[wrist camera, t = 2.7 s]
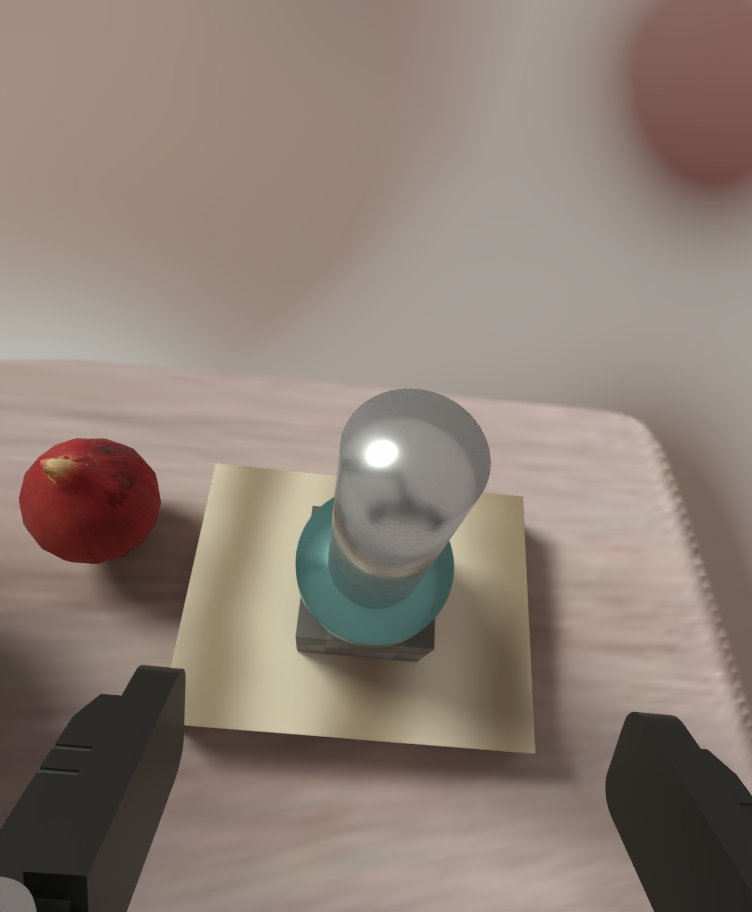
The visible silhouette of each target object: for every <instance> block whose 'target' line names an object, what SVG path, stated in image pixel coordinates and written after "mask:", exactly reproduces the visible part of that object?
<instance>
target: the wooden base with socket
mask: <svg viewBox="0 0 752 912" xmlns="http://www.w3.org/2000/svg"><path fill="white" fill-rule="evenodd" d="M336 478H337V476H328V475H319V474H310V473H300V472H291V471H282V470H273V469H264V468H255V467H246V466H237V465H227V464H218V463H216V464H215V469H214V473H213V478H212V482H211V487H210V492H209V496H208V501H207V505H206V510H205V514H204V519H203V523H202V528H201V532H200V537H199V541H198V546H197V550H196V555H195V559H194V564H193V568H192V573H191V577H190V582H189V586H188V591H187V595H186V600H185V604H184V609H183V613H182V618H181V622H180V627H179V631H178V636H177V640H176V645H175V649H174V654H173V659H172V663H171V668H180V669H184V670H185V673H186V688H185V720H184V726H193V727H206V728H218V729H230V730H243V731H255V732H268V733H280V734H292V735H305V736H317V737H329V738H342V739H354V740H366V741H379V742H391V743H403V744H416V745H428V746H440V747H453V748H465V749H477V750H490V751H502V752H515V753H534V754H535V733H534V713H533V692H532V672H531V651H530V630H529V610H528V589H527V569H526V548H525V528H524V507H523V497H520V496H510V495H501V494H492V493H482V494H481V496H480V497H479V499H478V500H477V502H476V503H475V505H474V506H473V507H472V509H471V510H470V512H469V513H468V514H467V516H466V517H465V519H464V520H463V522H462V523H461V524H460V526H459V527H458V529H457V530H456V532H455V533H454V534H453V536H452V537H451V539H450V540H449V541H450V544H451V547H452V552H453V557H454V579H453V583H452V588H451V591H450V594H449V596H448V599H447V601H446V603H445V605H444V606H443V608H442V609H441V611H440V612H439V614H438V615H437V616H436V617H435V618H434V619H433V620H432V621H431V623H430V624H429V625H428V626H426V627H425V628H424V629H423V630H422V631H421V632H419V633H418V634H417V635H415V636H413V637H412V638H410V639H408V640H406V641H404V642H401V643H399V644H395V645H391V646H386V647H363V646H357V645H353V644H350V643H347V642H344V641H342V640H340V639H338V638H336V637H334V636H333V635H331V634H330V633H328V632H327V631H326V630H324V629H323V628H322V627H321V626H320V625H319V624H318V623H317V622H316V621H315V620H314V619H313V618H312V616H311V615H310V613H309V612H308V610H307V609H306V607H305V605H304V603H303V601H302V599H301V596H300V593H299V590H298V585H297V580H296V565H295V560H296V550H297V545H298V541H299V539H300V536H301V533H302V531H303V529H304V527H305V525H306V523H307V522H308V520H309V519H310V518H311V516H312V515H313V514H314V513H315V512H316V511H317V509H318V508H320V507H321V506H322V505H323V504H324V503H326V502H327V501H329V500H330V499H332V498H333V497H335V487H336Z"/></svg>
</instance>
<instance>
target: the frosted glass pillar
mask: <svg viewBox="0 0 752 912" xmlns="http://www.w3.org/2000/svg"><path fill="white" fill-rule="evenodd" d="M490 464H491V460H490V451H489V447H488V443H487V440H486V438H485V435H484V433H483V432H482V430H481V428H480V426H479V425H478V423H477V422H476V421H475V419H474V418H473V417H472V416H471V415H470V414H469V413H468V412H467V411H466V410H465V409H464V408H462V407H461V406H460V405H458V404H457V403H455V402H454V401H452V400H450V399H449V398H447V397H445V396H442V395H440V394H437V393H434V392H430V391H426V390H421V389H397V390H391V391H388V392H384V393H381V394H379V395H377V396H374V397H373V398H371V399H369V400H368V401H366V402H365V403H364V404H362V405H361V406H360V407H359V408H358V409H357V410H356V411H355V412H354V413H353V414H352V416H351V417H350V419H349V420H348V422H347V424H346V426H345V428H344V431H343V433H342V437H341V442H340V450H339V459H338V469H337V478H336V487H335V497H333V498H332V499H330V500H329V501H327V502H326V503H324V504H323V505H322V506H321V507H320V508H318V509H317V511H316V512H315V513H314V514H313V515H312V516H311V518H310V519H309V520H308V522H307V523H306V525H305V527H304V529H303V531H302V533H301V536H300V539H299V541H298V545H297V550H296V560H295V565H296V580H297V585H298V590H299V593H300V596H301V599H302V601H303V603H304V605H305V607H306V609H307V610H308V612H309V613H310V615H311V616H312V618H313V619H314V620H315V621H316V622H317V623H318V624H319V625H320V626H321V627H322V628H323V629H324V630H326V631H327V632H328V633H330V634H331V635H333V636H334V637H336V638H338V639H340V640H342V641H344V642H347V643H350V644H353V645H357V646H363V647H386V646H391V645H395V644H399V643H401V642H404V641H406V640H408V639H410V638H412V637H413V636H415V635H417V634H418V633H419V632H421V631H422V630H423V629H424V628H425V627H426V626H428V625H429V624H430V623H431V621H432V620H433V619H434V618H435V617H436V616H437V615H438V614H439V612H440V611H441V609H442V608H443V606H444V605H445V603H446V601H447V599H448V596H449V594H450V591H451V588H452V583H453V579H454V557H453V552H452V547H451V544H450V541H449V540H450V539H451V537H452V536H453V534H454V533H455V532H456V530H457V529H458V527H459V526H460V524H461V523H462V522H463V520H464V519H465V517H466V516H467V514H468V513H469V512H470V510H471V509H472V507H473V506H474V505H475V503H476V502H477V500H478V499H479V497H480V496H481V494H482V493H483V491H484V489H485V487H486V484H487V481H488V479H489V474H490Z"/></svg>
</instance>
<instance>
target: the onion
mask: <svg viewBox="0 0 752 912" xmlns="http://www.w3.org/2000/svg"><path fill="white" fill-rule="evenodd" d="M19 504H20V509H21V513H22V518H23V523H24V525H25V527H26V528H27V530H28V531H29V533H30V534H31V535H32V536H33V538H34V539H35V540H36V542H37V543H38V544H39V545H40V547H41V548H42V549H44V550H46V551H48V552H50V553H52V554H54V555H55V556H57V557H59V558H61V559H63V560H66V561H70V562H77V563H91V564H100V563H103V562H106V561H109V560H112V559H116V558H119V557H122V556H124V555H125V554H126V553H128V552H129V551H131V550H132V549H133V548H135V547H136V546H138V545H139V544H140V543H142V541H143V540H144V539H145V537H146V536H147V535H148V533H149V532H150V530H151V529H152V528H153V526H154V525H155V523H156V519H157V515H158V512H159V508H160V504H161V500H160V494H159V488H158V482H157V478H156V474H155V472H154V471H153V470H152V469H151V468H150V466H149V465H148V464H147V463H146V462H145V461H144V459H143V458H142V457H141V456H140V455H139V454H138V453H137V452H136V451H135V450H134V449H132V448H130V447H128V446H125V445H122V444H120V443H117V442H114V441H111V440H108V439H81V438H76V439H72V440H69V441H66V442H63V443H60V444H57V445H55V446H53V447H52V448H51V449H49V450H48V451H46V452H45V453H44V454H42V455H41V456H40V457H38V459H37V460H36V461H35V462H34V463H33V465H32V466H31V467H30V468H29V470H28V471H27V472H26V473H25V476H24V479H23V484H22V488H21V492H20V496H19Z"/></svg>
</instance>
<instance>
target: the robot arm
mask: <svg viewBox="0 0 752 912" xmlns="http://www.w3.org/2000/svg"><path fill="white" fill-rule="evenodd" d="M185 688H186V673H185V670H184V669H180V668H169V667H158V666H147V665H140V666H139V667H138V668H137V670H136V671H135V673H134V675H133V676H132V678H131V680H130V682H129V683H128V685H127V687H126V689H125V691H124V692H123V694H122V696H118V695H107V694H100V695H99V696H98V697H97V698H95V699H94V700H93V701H92V702H90V703H89V704H88V705H87V706H85V707H84V708H83V709H81V710H80V711H79V712H78V713H76V714H75V715H74V716H73V717H72V719H71V720H70V722H69V724H68V725H67V727H66V728H65V730H64V731H63V733H62V734H61V736H60V738H59V739H58V741H57V742H56V745H55V748H54V749H52V750H51V752H50V753H49V755H48V756H47V758H46V759H45V761H44V762H43V764H42V765H41V767H40V771H39V773H36V775H35V776H34V778H33V779H32V781H31V783H30V784H29V786H28V787H27V789H26V790H25V792H24V793H23V795H22V797H21V798H20V800H19V801H18V803H17V804H16V806H15V807H14V809H13V811H12V812H11V814H10V815H9V817H8V818H7V820H6V821H5V823H4V825H3V826H2V828H1V829H0V912H127V909H128V906H129V904H130V901H131V898H132V895H133V893H134V890H135V887H136V885H137V882H138V879H139V876H140V874H141V871H142V868H143V865H144V863H145V860H146V857H147V854H148V852H149V849H150V846H151V844H152V841H153V838H154V835H155V833H156V830H157V827H158V824H159V822H160V819H161V816H162V814H163V811H164V808H165V805H166V803H167V800H168V797H169V794H170V792H171V789H172V786H173V784H174V781H175V778H176V775H177V772H178V768H179V764H180V760H181V755H182V749H183V742H184V720H185ZM606 799H607V804H608V808H609V812H610V814H611V817H612V819H613V821H614V823H615V826H616V828H617V830H618V832H619V835H620V837H621V839H622V841H623V843H624V846H625V848H626V850H627V852H628V855H629V857H630V859H631V861H632V863H633V866H634V868H635V870H636V872H637V875H638V877H639V879H640V881H641V883H642V886H643V888H644V890H645V892H646V894H647V897H648V899H649V901H650V903H651V906H652V908H653V910H654V912H752V795H751V794H750V793H749V791H748V790H747V788H746V787H745V786H744V784H743V783H742V782H741V780H740V779H739V778H738V776H737V775H736V774H735V773H734V772H733V771H731V770H730V769H729V768H728V767H727V766H726V765H725V764H723V763H722V762H721V761H720V760H719V759H718V758H717V757H715V756H714V755H713V754H712V753H711V752H710V751H709V750H707V749H701V748H700V747H699V746H698V744H697V743H696V741H695V740H694V738H693V737H692V736H691V734H690V733H689V731H688V730H687V728H686V727H685V726H684V724H683V723H682V722H681V720H679V719H678V718H677V717H675V716H672V715H662V714H651V713H641V712H631V713H630V714H629V715H628V716H627V717H626V719H625V721H624V724H623V727H622V730H621V733H620V736H619V740H618V743H617V746H616V749H615V752H614V755H613V758H612V761H611V764H610V767H609V770H608V773H607V777H606Z"/></svg>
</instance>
